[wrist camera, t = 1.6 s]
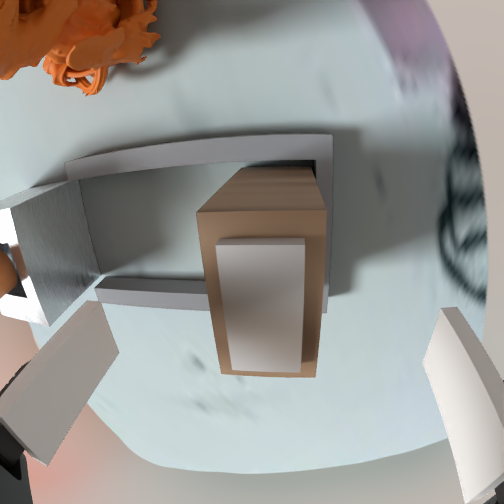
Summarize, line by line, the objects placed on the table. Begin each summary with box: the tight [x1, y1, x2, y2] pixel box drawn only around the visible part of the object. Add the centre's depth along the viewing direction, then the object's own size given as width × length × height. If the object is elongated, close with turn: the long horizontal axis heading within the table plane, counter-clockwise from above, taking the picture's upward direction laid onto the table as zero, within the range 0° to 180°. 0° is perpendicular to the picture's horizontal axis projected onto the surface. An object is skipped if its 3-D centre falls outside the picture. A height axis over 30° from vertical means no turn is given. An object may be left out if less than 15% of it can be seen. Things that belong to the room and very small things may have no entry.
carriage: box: [196, 166, 327, 377], centre depth 16 cm, size 8×4×11 cm, turn 3°
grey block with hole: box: [0, 180, 101, 327], centre depth 20 cm, size 9×7×8 cm
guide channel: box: [65, 133, 333, 313], centre depth 21 cm, size 12×19×2 cm, turn 93°
